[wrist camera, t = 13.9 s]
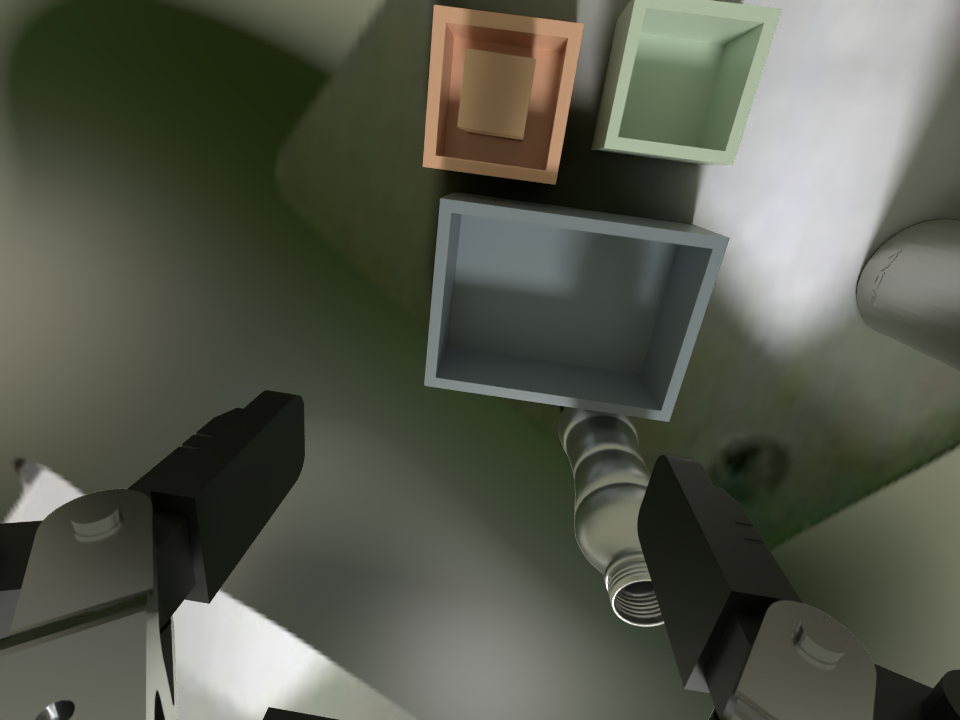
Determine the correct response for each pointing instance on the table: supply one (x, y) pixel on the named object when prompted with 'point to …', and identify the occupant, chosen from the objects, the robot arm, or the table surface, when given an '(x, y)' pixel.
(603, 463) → the plastic bottle
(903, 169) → the table surface
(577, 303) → the slate bin
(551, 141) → the peach square tray
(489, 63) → the walnut block
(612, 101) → the pale green open box
